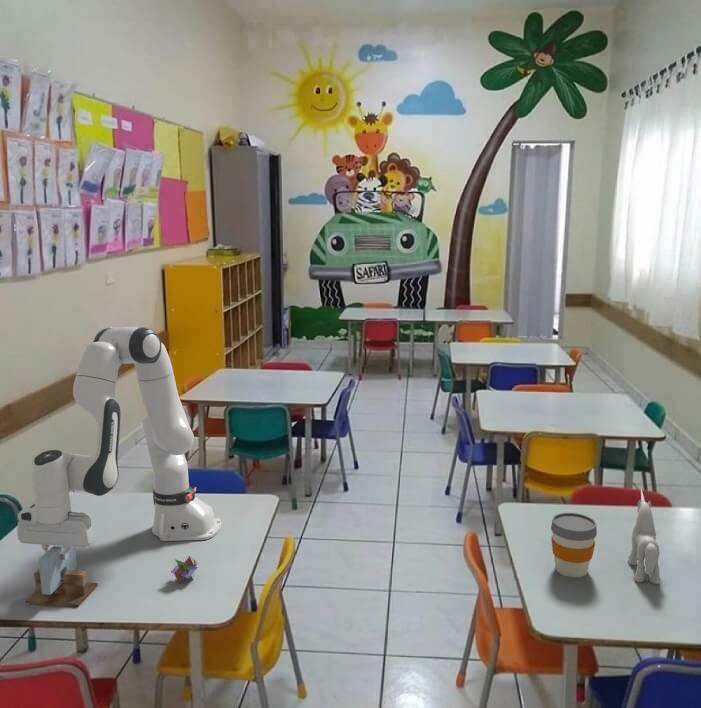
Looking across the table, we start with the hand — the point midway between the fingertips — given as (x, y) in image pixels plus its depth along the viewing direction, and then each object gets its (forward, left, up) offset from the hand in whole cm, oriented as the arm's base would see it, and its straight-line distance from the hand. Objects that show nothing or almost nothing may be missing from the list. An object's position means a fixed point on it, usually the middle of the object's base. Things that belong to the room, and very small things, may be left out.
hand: (58, 558), depth 192 cm
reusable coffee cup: (-141, -29, -11) cm, 145 cm away
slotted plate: (0, 0, -7) cm, 7 cm away
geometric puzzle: (-31, -11, -11) cm, 35 cm away
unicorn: (-162, -32, -11) cm, 165 cm away
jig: (0, 0, -11) cm, 11 cm away
